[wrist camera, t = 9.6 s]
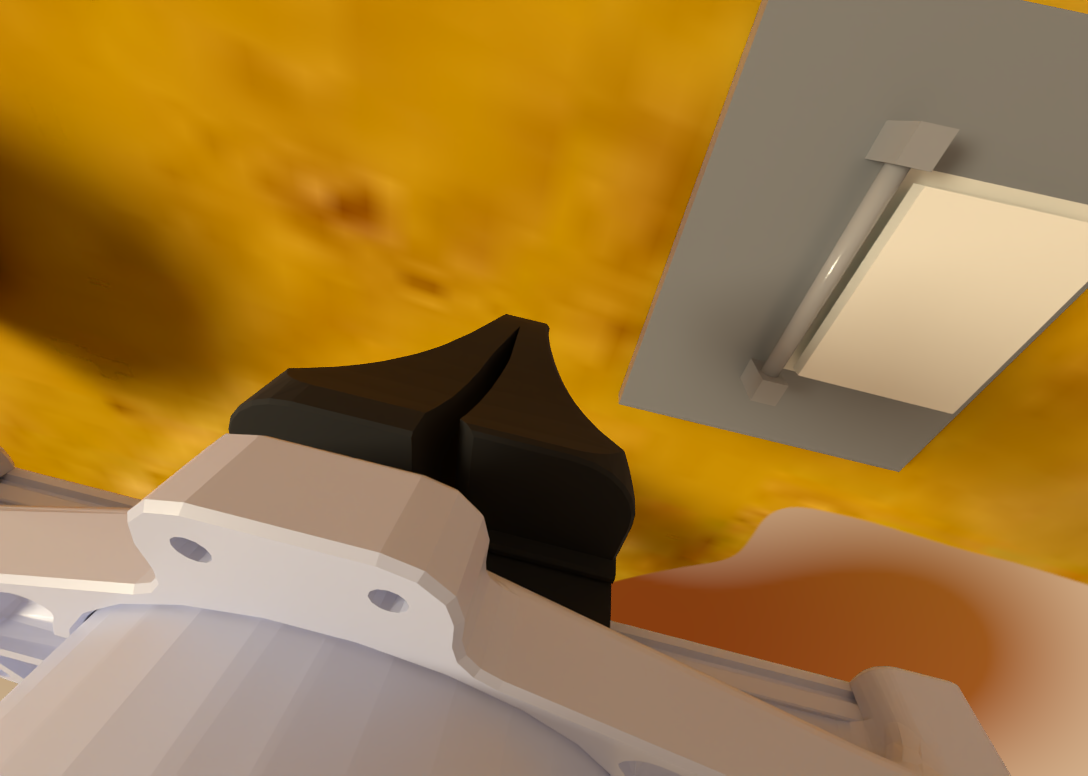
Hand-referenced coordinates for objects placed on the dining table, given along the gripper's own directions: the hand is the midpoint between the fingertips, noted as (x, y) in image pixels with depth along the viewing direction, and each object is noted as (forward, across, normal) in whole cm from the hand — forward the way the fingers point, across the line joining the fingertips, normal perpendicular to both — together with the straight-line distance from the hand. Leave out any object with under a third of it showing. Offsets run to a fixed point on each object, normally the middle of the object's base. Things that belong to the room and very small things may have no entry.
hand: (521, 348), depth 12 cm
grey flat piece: (+9, -13, -2) cm, 16 cm away
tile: (+7, -15, -2) cm, 17 cm away
